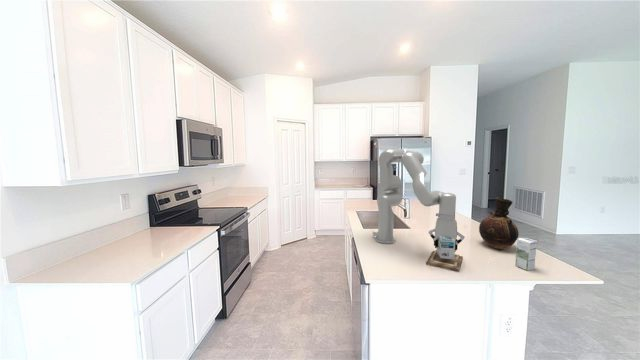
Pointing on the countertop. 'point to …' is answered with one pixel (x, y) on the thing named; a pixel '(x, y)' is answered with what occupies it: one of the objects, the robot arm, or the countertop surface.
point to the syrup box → (526, 253)
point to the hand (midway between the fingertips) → (445, 248)
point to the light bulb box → (446, 247)
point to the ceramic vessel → (499, 226)
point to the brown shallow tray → (445, 261)
